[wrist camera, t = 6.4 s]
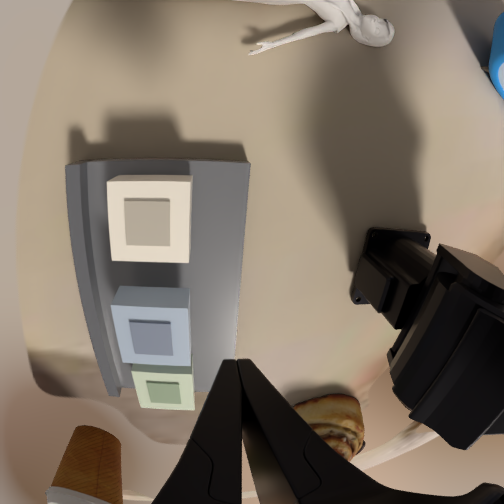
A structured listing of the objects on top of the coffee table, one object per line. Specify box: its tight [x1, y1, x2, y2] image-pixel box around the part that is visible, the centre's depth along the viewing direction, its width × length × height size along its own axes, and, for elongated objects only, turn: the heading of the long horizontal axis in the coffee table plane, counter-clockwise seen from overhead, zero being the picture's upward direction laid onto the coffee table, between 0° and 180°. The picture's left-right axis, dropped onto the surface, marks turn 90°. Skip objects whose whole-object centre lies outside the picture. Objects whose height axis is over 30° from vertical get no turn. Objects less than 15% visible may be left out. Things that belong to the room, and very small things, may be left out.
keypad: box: [65, 158, 251, 397], centre depth 20 cm, size 11×19×2 cm, turn 175°
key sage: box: [131, 354, 195, 410], centre depth 21 cm, size 4×4×2 cm
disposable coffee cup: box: [45, 425, 123, 504], centre depth 22 cm, size 10×10×12 cm
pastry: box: [294, 394, 365, 462], centre depth 28 cm, size 13×15×8 cm
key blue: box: [111, 286, 191, 366], centre depth 17 cm, size 4×4×2 cm
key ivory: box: [107, 175, 193, 263], centre depth 16 cm, size 4×4×2 cm
